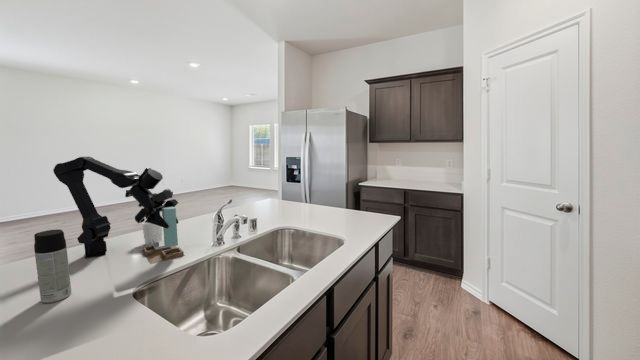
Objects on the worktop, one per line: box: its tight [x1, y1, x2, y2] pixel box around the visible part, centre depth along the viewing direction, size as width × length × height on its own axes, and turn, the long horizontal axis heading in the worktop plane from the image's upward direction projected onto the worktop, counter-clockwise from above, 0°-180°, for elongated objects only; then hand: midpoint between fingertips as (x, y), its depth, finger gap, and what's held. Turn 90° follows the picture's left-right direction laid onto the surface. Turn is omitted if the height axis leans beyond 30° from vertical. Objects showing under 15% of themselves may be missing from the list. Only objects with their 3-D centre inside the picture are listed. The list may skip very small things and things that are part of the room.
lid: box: [151, 238, 167, 250], centre depth 117 cm, size 7×7×3 cm
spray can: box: [33, 228, 72, 304], centre depth 80 cm, size 7×7×20 cm
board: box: [141, 244, 186, 265], centre depth 113 cm, size 12×18×2 cm, turn 41°
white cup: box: [141, 221, 163, 246], centre depth 127 cm, size 8×8×10 cm
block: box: [161, 207, 179, 247], centre depth 109 cm, size 4×4×15 cm
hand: (173, 225), depth 109 cm, fingers closed on block, 6 cm apart
